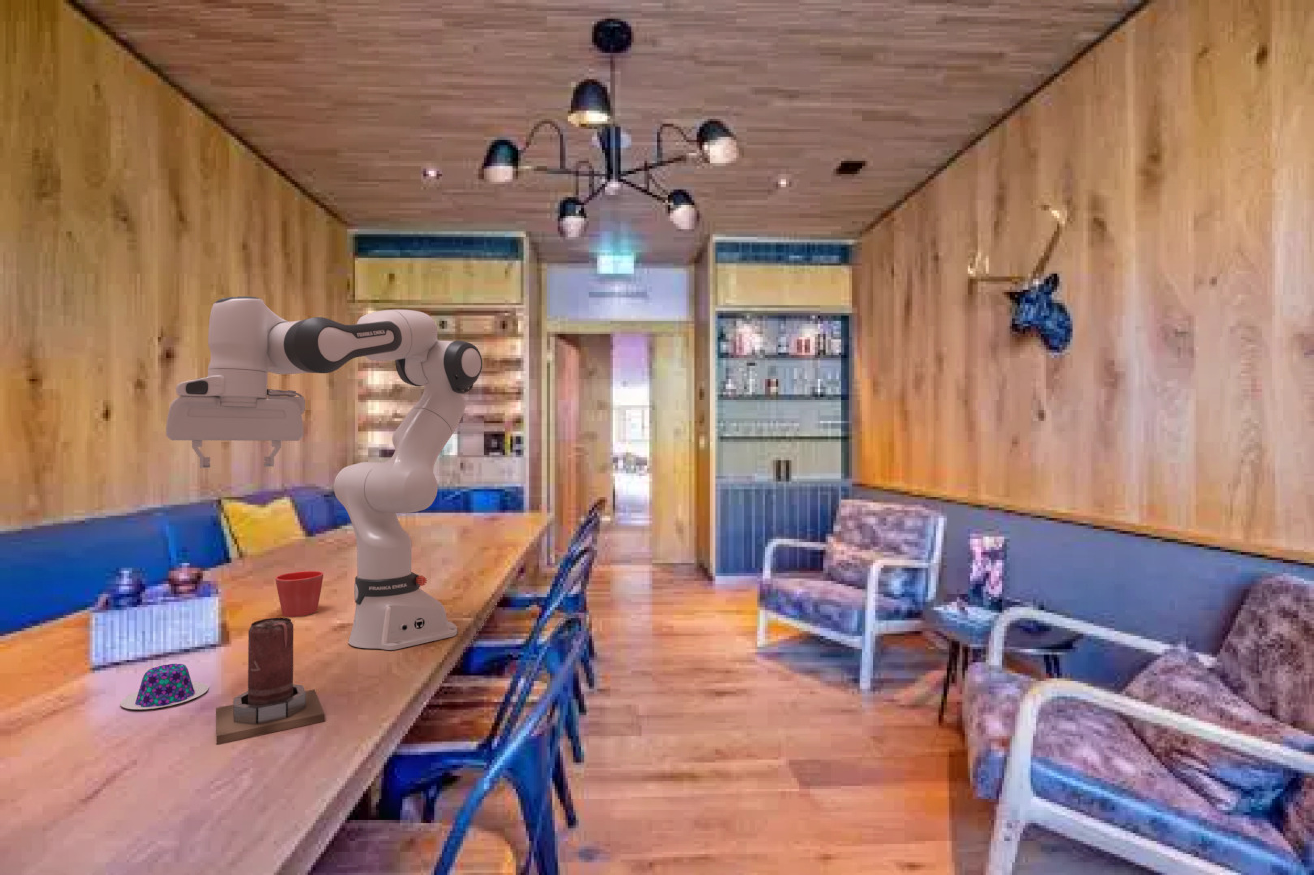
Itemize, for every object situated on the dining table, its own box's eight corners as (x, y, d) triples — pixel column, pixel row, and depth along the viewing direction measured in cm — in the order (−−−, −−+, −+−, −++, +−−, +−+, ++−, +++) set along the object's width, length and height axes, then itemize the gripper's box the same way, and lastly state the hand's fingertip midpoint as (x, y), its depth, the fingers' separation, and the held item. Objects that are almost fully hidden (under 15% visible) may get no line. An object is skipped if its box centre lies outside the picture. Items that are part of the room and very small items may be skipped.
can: (273, 720, 100) (274, 628, 100) (238, 716, 101) (239, 625, 101) (303, 704, 106) (303, 617, 106) (269, 701, 107) (269, 615, 107)
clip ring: (300, 694, 110) (300, 680, 110) (307, 714, 102) (307, 698, 102) (232, 707, 104) (232, 692, 104) (234, 729, 96) (234, 712, 96)
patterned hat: (114, 720, 103) (114, 686, 103) (126, 695, 113) (126, 664, 113) (206, 703, 110) (207, 672, 110) (209, 681, 120) (210, 652, 120)
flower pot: (264, 618, 161) (264, 578, 161) (296, 606, 172) (296, 570, 172) (303, 620, 160) (303, 580, 160) (332, 608, 170) (332, 571, 170)
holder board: (314, 696, 112) (314, 689, 112) (324, 721, 102) (324, 713, 102) (215, 715, 104) (215, 707, 104) (216, 744, 94) (216, 736, 94)
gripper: (303, 391, 123) (302, 465, 123) (167, 386, 112) (167, 467, 112) (307, 389, 118) (306, 466, 118) (165, 383, 107) (164, 468, 106)
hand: (237, 467), depth 115 cm, fingers open, 8 cm apart
